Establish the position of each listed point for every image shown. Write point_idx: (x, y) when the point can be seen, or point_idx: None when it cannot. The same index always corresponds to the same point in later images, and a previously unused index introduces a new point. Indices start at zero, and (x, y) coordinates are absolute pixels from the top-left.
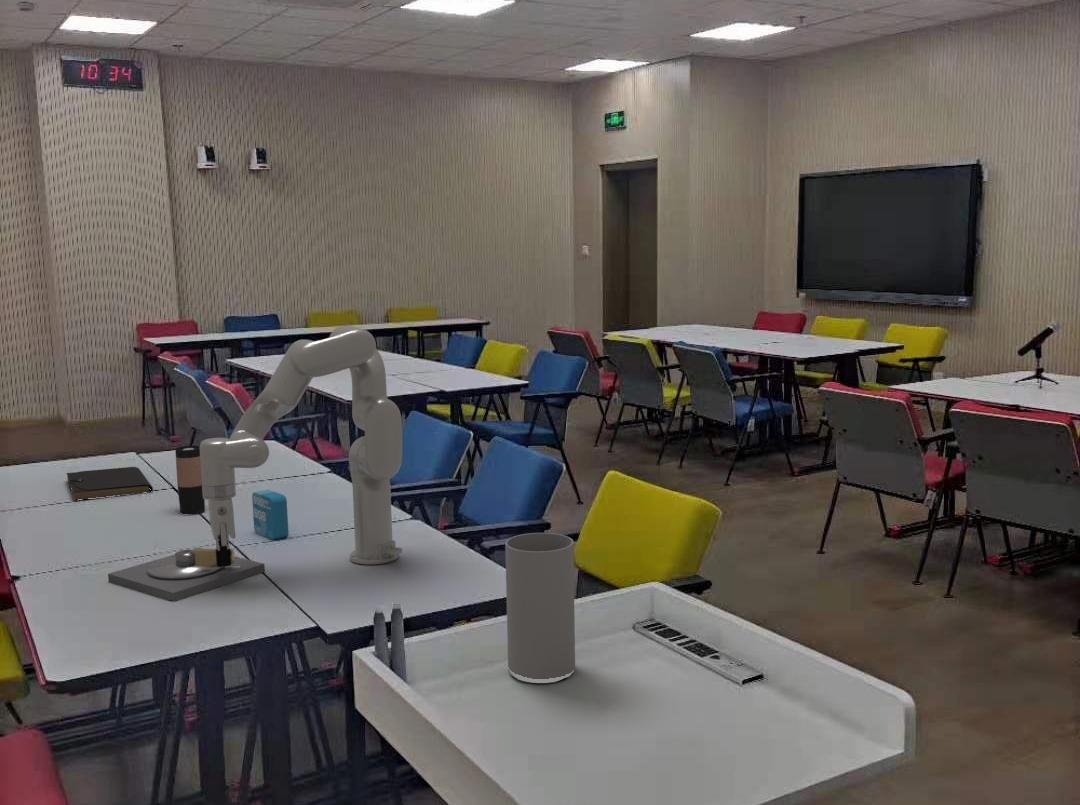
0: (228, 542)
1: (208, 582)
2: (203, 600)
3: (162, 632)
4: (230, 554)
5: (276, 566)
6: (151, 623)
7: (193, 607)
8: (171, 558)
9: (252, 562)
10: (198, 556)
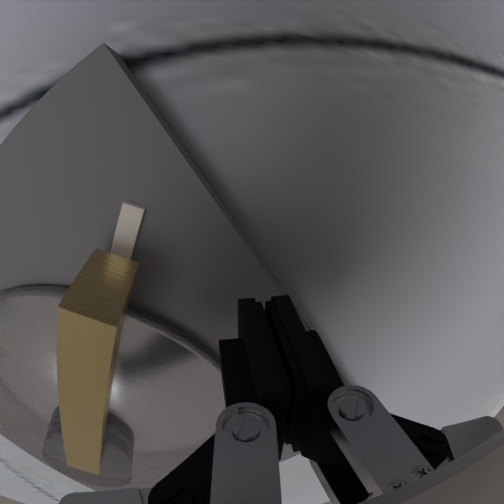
0: (411, 445)
1: None
2: (404, 334)
3: (491, 366)
4: (312, 345)
5: (56, 5)
6: (448, 396)
7: (434, 348)
8: (31, 442)
9: (45, 123)
10: (103, 436)
